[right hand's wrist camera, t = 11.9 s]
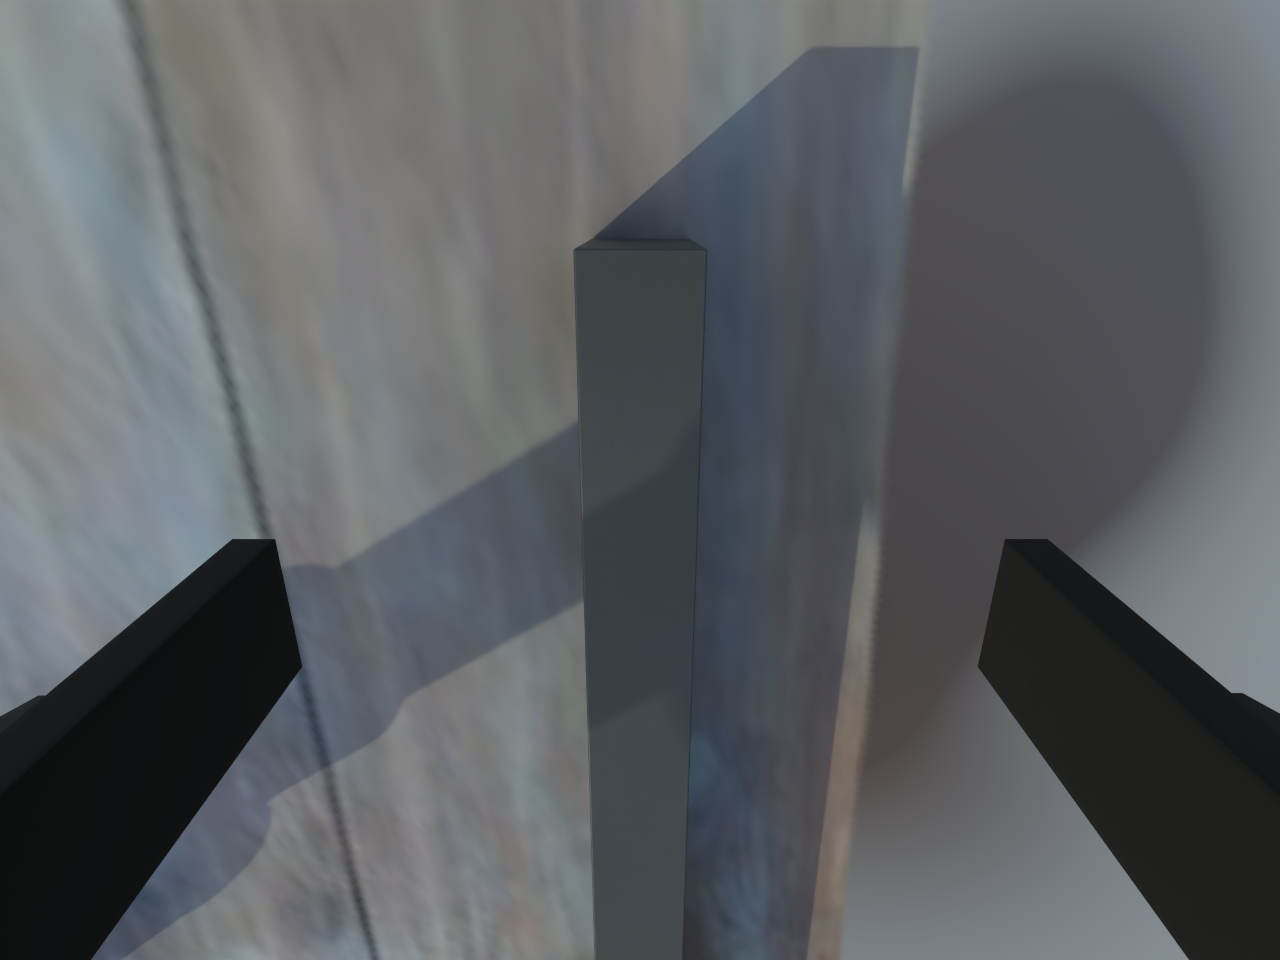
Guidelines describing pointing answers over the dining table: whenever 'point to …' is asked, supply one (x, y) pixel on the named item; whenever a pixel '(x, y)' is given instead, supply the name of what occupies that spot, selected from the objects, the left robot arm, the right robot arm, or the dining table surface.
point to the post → (639, 575)
